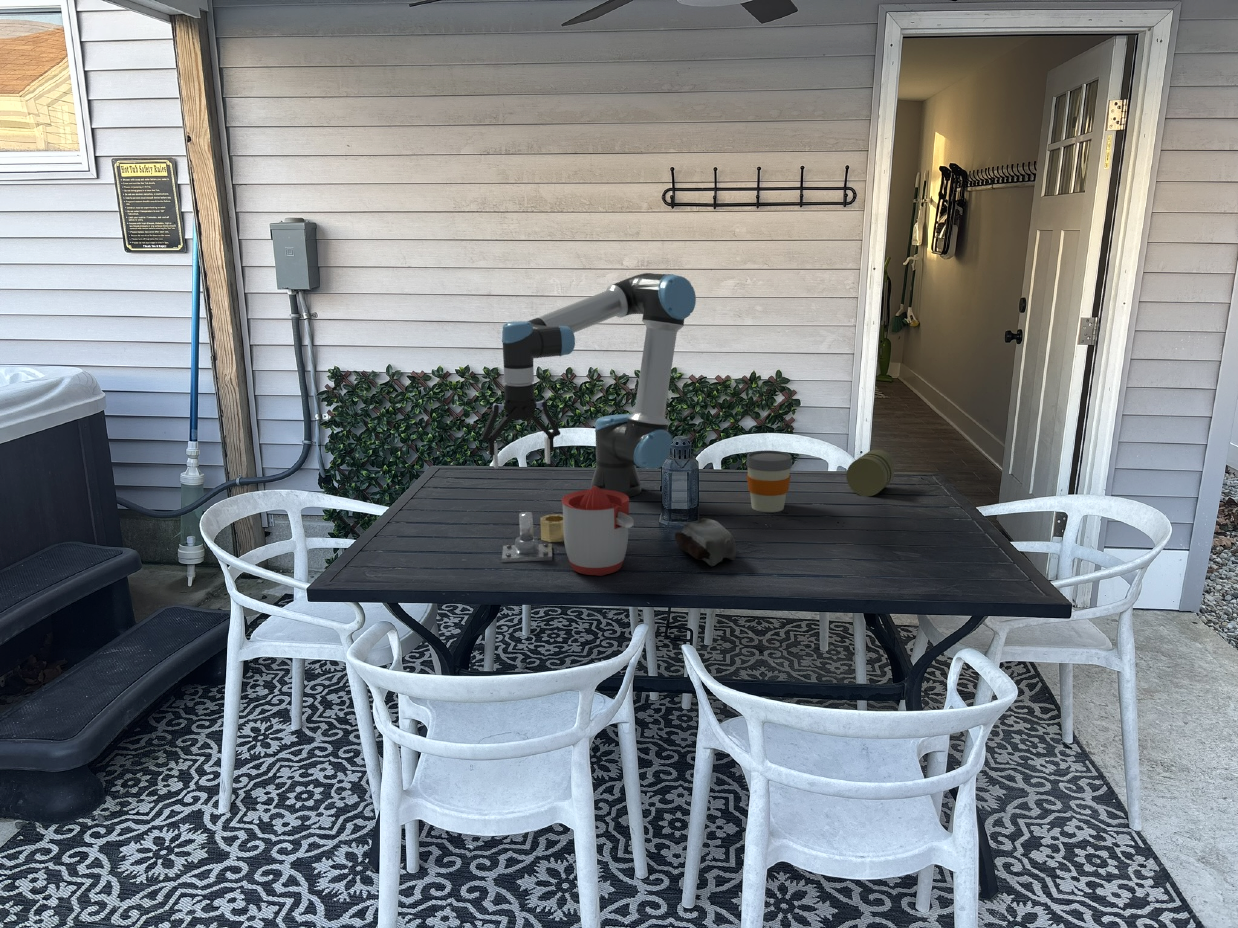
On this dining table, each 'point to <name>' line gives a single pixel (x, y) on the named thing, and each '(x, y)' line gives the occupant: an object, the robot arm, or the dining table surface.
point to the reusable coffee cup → (768, 479)
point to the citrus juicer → (596, 530)
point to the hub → (552, 528)
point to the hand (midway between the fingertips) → (521, 464)
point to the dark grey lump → (706, 541)
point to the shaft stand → (526, 544)
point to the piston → (871, 472)
